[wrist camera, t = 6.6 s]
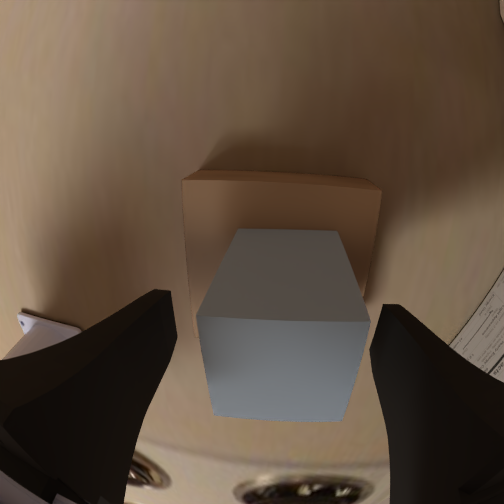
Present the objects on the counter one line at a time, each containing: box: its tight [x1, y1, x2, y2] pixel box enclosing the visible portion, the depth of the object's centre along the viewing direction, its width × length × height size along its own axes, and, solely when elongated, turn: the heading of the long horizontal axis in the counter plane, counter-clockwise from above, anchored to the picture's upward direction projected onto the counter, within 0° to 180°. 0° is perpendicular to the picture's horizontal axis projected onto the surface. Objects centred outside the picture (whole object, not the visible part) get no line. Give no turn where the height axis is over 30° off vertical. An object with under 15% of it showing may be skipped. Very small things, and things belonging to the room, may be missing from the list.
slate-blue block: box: [196, 229, 371, 422], centre depth 10 cm, size 4×4×6 cm
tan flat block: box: [182, 170, 382, 338], centre depth 14 cm, size 8×8×3 cm
